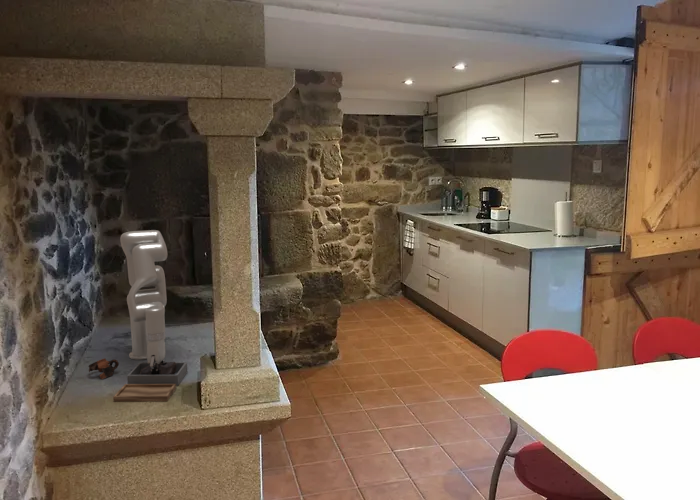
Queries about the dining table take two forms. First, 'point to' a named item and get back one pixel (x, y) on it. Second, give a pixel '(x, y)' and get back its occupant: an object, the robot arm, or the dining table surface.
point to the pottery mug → (104, 367)
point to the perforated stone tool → (161, 369)
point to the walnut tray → (144, 392)
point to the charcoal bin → (136, 378)
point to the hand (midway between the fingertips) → (158, 375)
